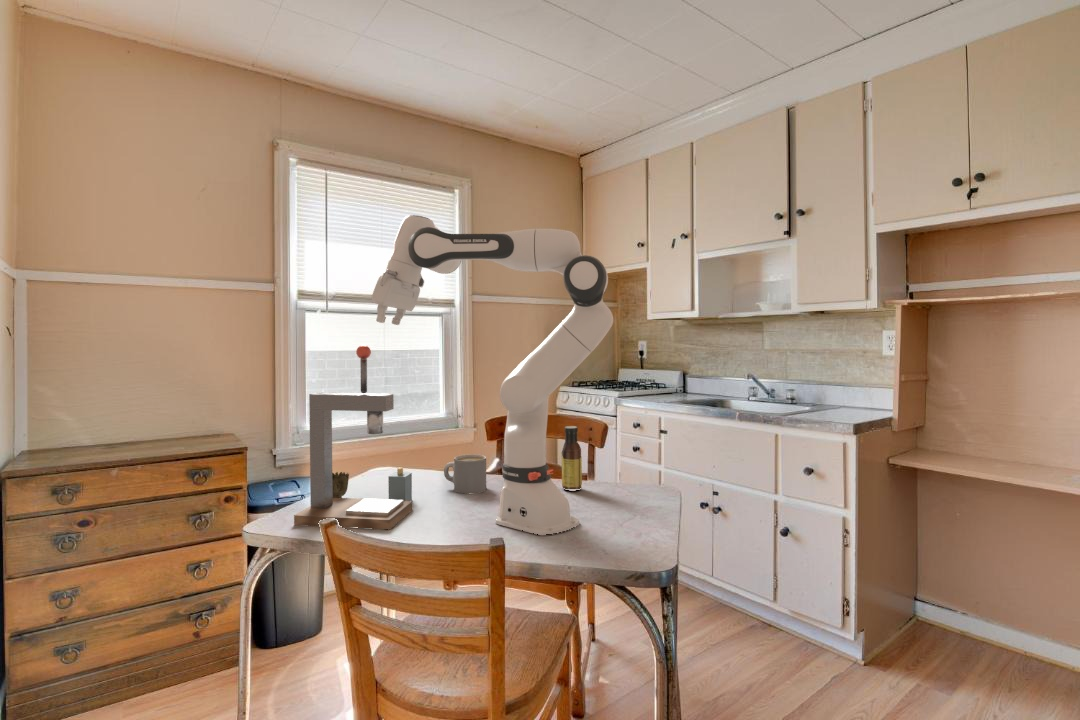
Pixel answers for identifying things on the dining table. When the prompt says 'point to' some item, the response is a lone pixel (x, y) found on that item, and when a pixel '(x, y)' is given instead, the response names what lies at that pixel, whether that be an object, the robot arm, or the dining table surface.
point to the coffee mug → (467, 473)
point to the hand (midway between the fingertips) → (387, 323)
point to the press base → (361, 521)
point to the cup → (339, 484)
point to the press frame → (322, 440)
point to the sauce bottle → (571, 460)
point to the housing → (400, 485)
